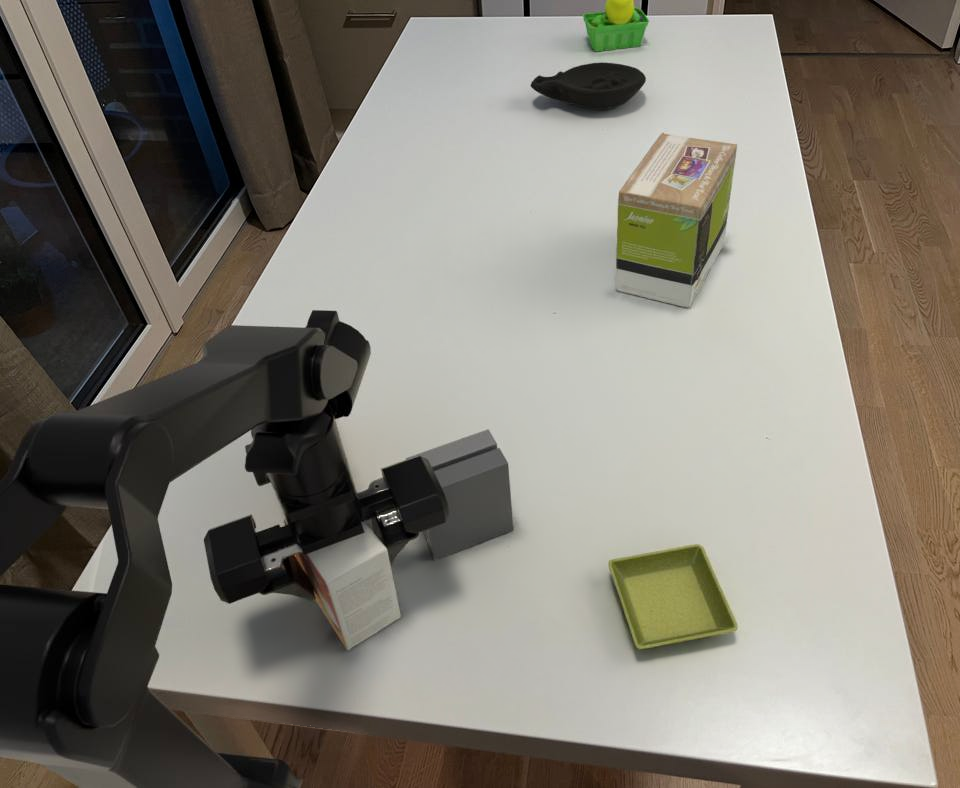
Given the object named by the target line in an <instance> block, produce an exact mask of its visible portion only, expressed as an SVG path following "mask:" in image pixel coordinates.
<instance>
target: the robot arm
mask: <svg viewBox="0 0 960 788" xmlns="http://www.w3.org/2000/svg"><path fill="white" fill-rule="evenodd" d="M201 349H202V358H201V359H200V360H199V361H197V362H196V363H193V364H191V365H188V366H186V367H183V368H181V369H178V370H176V371H173V372H170V373H168V374H165V375H162V376H161V377H158V378H155V379H153V380H151V381H148V382H146V383H145V382H144V383H143V384H141V385H138V386H136V387H133V388H130V389H128V390H125V391H123V392H120V393H118V394H115V395H113V396H110V397H108V398H106V399H103V400H100V401H97V402H96V403H93V404H90V405H88V406H85V407H84V408H81V409H78V410H75V411H60V412H55V413H54V414H52V415H51V416H49V417H42V418H40V419H38V420H37V421H36V422H34V423H33V424H31V425H30V426H29V428H28V430H27V431H26V432H25V434H24V435H23V437H22V439H21V441H20V443H19V445H18V447H17V449H16V451H15V453H14V456H13V458H12V460H11V463H10V465H9V467H8V469H7V471H6V473H5V475H4V476H3V477H2V479H1V480H0V578H1V577H2V576H3V575H4V574H6V572H7V571H8V570H9V569H10V568H11V567H12V566H13V565H14V564H15V563H16V562H17V561H18V560H19V559H20V558H21V557H22V556H23V555H24V554H25V553H26V552H28V550H30V548H31V547H32V546H33V545H34V544H36V542H37V541H39V539H41V538H42V536H43V535H45V534H46V532H47V531H49V529H51V528H52V526H54V525H55V523H57V522H58V521H59V520H60V519H61V517H62V516H63V515H64V513H65V511H66V509H67V507H74V508H89V509H104V510H108V513H109V519H110V524H111V525H110V526H111V530H112V534H113V541H114V546H115V551H116V556H117V564H116V567H115V568H114V569H115V570H114V573H113V575H112V578H111V581H110V584H109V587H108V590H107V592H96V591H95V592H94V591H83V590H71V589H58V588H47V587H34V586H24V585H12V584H1V583H0V758H4V759H9V760H17V761H21V762H29V763H34V764H39V765H41V766H42V767H45V768H46V769H47V770H50V771H51V772H53V773H54V774H56V775H57V776H60V777H61V778H63V779H65V780H66V781H68V782H69V783H70V784H73V785H74V786H75V787H77V788H301V787H302V786H303V784H304V783H303V782H304V776H303V777H302V776H295V775H294V773H293V770H292V768H291V766H290V765H289V764H288V763H287V762H285V761H284V760H283V759H281V758H280V759H279V758H270V757H261V756H254V755H244V754H237V753H236V754H235V753H226V752H218V751H216V750H215V749H214V748H213V747H212V746H211V745H209V743H207V742H206V741H205V740H204V739H203V737H201V736H200V735H199V734H198V733H197V732H196V731H195V730H194V729H193V728H191V727H190V725H188V724H187V723H186V722H185V721H184V720H183V719H182V718H181V717H180V716H178V714H176V712H174V711H173V710H172V709H171V708H170V707H169V706H168V705H167V704H166V703H165V702H164V701H162V699H161V698H159V697H158V696H157V694H155V693H154V692H153V691H152V690H151V689H150V688H149V687H148V686H149V685H150V681H151V679H152V676H153V673H154V671H155V669H156V666H157V664H158V661H159V659H160V653H159V651H158V649H157V646H156V645H157V642H158V638H159V635H160V631H161V628H162V625H163V622H164V619H165V616H166V614H167V610H168V607H169V604H170V600H171V597H172V593H173V581H172V576H171V573H170V568H169V563H168V559H167V554H166V550H165V546H164V541H163V536H162V533H161V528H160V523H159V515H160V512H161V509H162V506H163V503H164V500H165V498H166V494H167V491H168V489H169V486H170V483H172V482H174V481H175V480H176V479H178V478H180V477H181V476H182V475H184V474H185V473H187V472H189V471H190V470H192V469H193V468H195V467H196V466H198V465H199V464H201V463H203V462H205V460H207V459H209V458H210V457H212V456H213V455H215V454H217V453H218V452H220V451H221V450H223V449H224V448H226V447H227V446H229V445H230V444H231V443H233V442H235V441H236V440H238V439H240V438H241V437H242V436H244V435H245V434H246V435H247V433H249V432H250V436H251V438H252V441H251V443H249V444H245V446H244V448H245V449H244V450H245V453H246V455H245V461H244V469H245V471H246V472H247V473H252V475H253V477H254V479H255V482H256V484H257V486H259V487H262V486H264V485H267V484H271V487H272V489H273V491H274V494H275V496H276V499H277V501H278V503H279V506H280V508H281V510H282V514H283V515H284V519H286V520H287V523H288V525H286V526H285V525H283V526H281V525H280V524H276V525H273V526H270V527H268V528H265V529H262V530H259V531H256V528H257V525H256V520H255V519H254V516H253V515H252V513H251V514H248V515H246V516H242V517H239V518H237V519H233V520H231V521H228V522H226V523H223V524H220V525H217V526H214V527H211V528H209V529H208V530H207V532H206V534H205V536H204V538H203V542H204V550H205V555H206V559H207V560H206V561H207V566H208V571H209V576H210V581H211V584H212V586H213V589H214V592H215V593H216V595H217V596H218V598H219V600H220V601H221V602H224V603H226V604H229V605H230V604H233V603H235V602H239V601H240V600H243V599H246V598H248V597H249V598H250V597H251V596H254V595H257V594H259V595H261V596H267V595H270V594H280V595H288V596H294V597H298V598H301V599H305V600H307V601H310V602H311V601H315V599H316V597H315V593H314V590H313V588H312V585H311V583H310V580H309V578H308V576H307V574H306V573H305V571H304V570H303V568H302V566H301V565H300V563H299V562H298V560H297V558H296V554H298V553H301V552H303V554H304V555H306V554H308V553H311V552H314V551H317V550H319V549H322V548H325V547H327V546H330V545H333V544H336V543H338V542H341V541H344V540H346V539H349V538H352V537H355V536H357V535H360V534H363V533H365V532H364V529H363V526H362V523H361V522H364V521H365V522H367V521H370V520H371V523H372V524H371V525H372V531H373V533H374V534H375V535H376V536H377V538H378V539H379V540H380V541H381V542H382V544H383V545H384V546H385V547H386V548H387V551H388V556H389V561H390V566H391V567H392V565H393V563H394V561H396V558H397V557H398V555H399V554H400V553H401V552H402V551H403V549H404V548H405V547H406V546H407V545H408V544H409V543H410V542H411V541H413V540H415V539H417V538H418V537H419V535H420V533H423V531H425V530H428V529H430V528H433V527H436V526H438V525H441V524H444V523H446V521H447V520H448V518H449V516H450V513H449V507H448V502H447V499H446V496H445V493H444V491H443V489H442V487H441V485H440V483H439V481H438V479H437V477H436V475H435V473H434V470H433V468H432V466H431V464H430V462H429V460H428V459H426V458H424V457H422V456H415V457H412V458H410V459H407V460H406V459H404V460H402V461H398V462H396V463H393V464H390V465H387V466H385V467H382V468H380V471H381V472H380V473H381V476H382V477H380V478H377V479H374V480H372V481H371V482H370V483H369V484H368V488H367V489H365V490H362V491H359V492H358V491H357V488H356V485H355V482H354V479H353V478H354V477H353V474H352V472H351V469H350V465H349V462H348V458H347V454H346V452H345V448H344V445H343V441H342V438H341V435H340V431H339V427H338V425H337V422H336V420H338V419H340V418H348V417H349V416H350V415H351V413H352V411H353V407H354V404H355V402H356V399H357V395H358V394H359V390H360V388H361V384H362V381H363V378H364V376H365V372H366V369H367V367H368V364H369V361H370V357H371V354H372V349H371V344H370V342H369V340H368V339H366V337H365V336H364V335H363V334H362V333H361V332H360V331H359V330H357V329H356V328H355V327H353V326H352V325H350V324H348V323H346V322H343V321H341V320H340V317H339V313H338V311H337V310H324V309H323V310H321V309H320V310H319V309H312V311H311V313H310V315H309V317H308V320H307V323H306V325H305V327H300V326H299V327H298V326H296V327H294V326H263V325H235V324H229V325H228V326H226V327H224V328H223V329H222V330H220V331H218V333H216V334H214V335H213V336H212V337H210V338H209V339H208V340H206V342H204V343H203V344H202V348H201Z"/></svg>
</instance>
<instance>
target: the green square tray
mask: <svg viewBox="0 0 960 788" xmlns="http://www.w3.org/2000/svg"><path fill="white" fill-rule="evenodd" d="M607 565H608V568H609V571H610V574H611V577H612V580H613V582H614V586H615V589H616V592H617V594H618V598H619V601H620V604H621V607H622V610H623V612H624V616H625V619H626V622H627V625H628V627H629V631H630V633H631V637H632V640H633V643H634V646H635V648H637V649H638V650H646V649H650V648H657V647H661V646H667V645H671V644H677V643H682V642H688V641H693V640H697V639H702V638H708V637H713V636H718V635H724V634H729V633H734V632H736V631H738V628H739V625H738V622H737V620H736V618H735V616H734V614H733V612H732V609H731V607H730V604H729V602H728V600H727V598H726V596H725V593H724V591H723V588H722V587H721V585H720V582H719V580H718V578H717V576H716V573H715V571H714V568H713V566H712V564H711V562H710V559H709V557H708V555H707V553H706V550H705V548H704V546H703V545H701V544H697V543H696V544H689V545H684V546H679V547H674V548H668V549H663V550H658V551H657V550H656V551H652V552H651V551H650V552H647V553H642V554H641V553H640V554H636V555H635V554H634V555H630V556H623V557H619V558H618V557H617V558H613V559H610V560H608V564H607Z"/></svg>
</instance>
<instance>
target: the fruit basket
mask: <svg viewBox="0 0 960 788" xmlns="http://www.w3.org/2000/svg"><path fill="white" fill-rule="evenodd" d="M604 10H605V11H597V12H589V13H584V14H583V15H582V18H583V22H584V23H585V28H586V34H587V38H588V42H589V44H590V46H591V48H592V49H593V51H594V52H603V51H613V50H621V49H628V48H638V47H641V44H642V41H643V38H644V35H645V32H646V29H647V27H648V25H649V22H650V19H649V18H648V17H647V15H646V14H645V13H644V11H643V10H642V9H641V8H639V7H635V2H634V0H606V2H605V4H604Z"/></svg>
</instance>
